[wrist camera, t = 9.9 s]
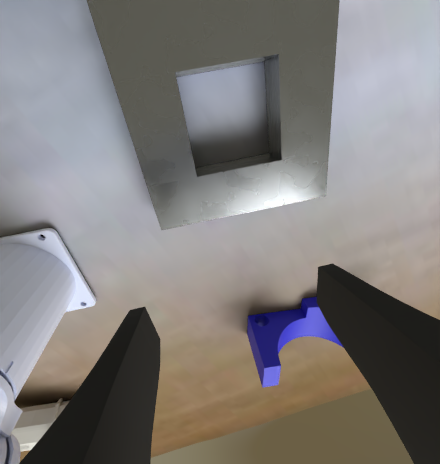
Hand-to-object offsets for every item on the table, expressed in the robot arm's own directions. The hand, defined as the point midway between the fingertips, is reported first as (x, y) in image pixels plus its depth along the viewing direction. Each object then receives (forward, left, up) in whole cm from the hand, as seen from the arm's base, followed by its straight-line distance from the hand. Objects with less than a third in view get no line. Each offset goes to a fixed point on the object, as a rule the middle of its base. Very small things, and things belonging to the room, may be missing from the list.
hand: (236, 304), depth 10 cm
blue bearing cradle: (+8, -15, -11) cm, 20 cm away
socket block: (+2, +6, -10) cm, 12 cm away
